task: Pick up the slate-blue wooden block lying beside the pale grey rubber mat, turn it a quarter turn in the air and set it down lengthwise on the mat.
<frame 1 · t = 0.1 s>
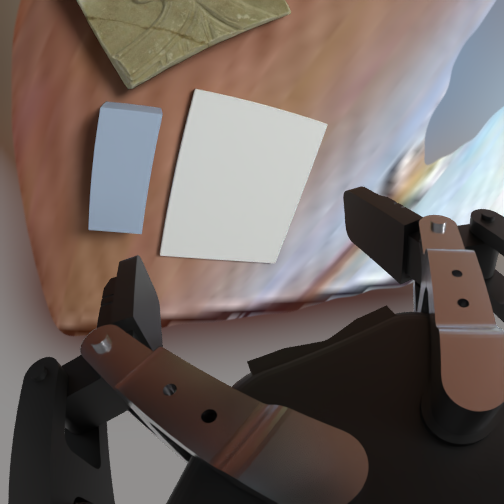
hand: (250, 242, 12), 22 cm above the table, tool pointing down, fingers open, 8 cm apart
mat: (240, 186, 35), on the table
block: (123, 161, 30), on the table
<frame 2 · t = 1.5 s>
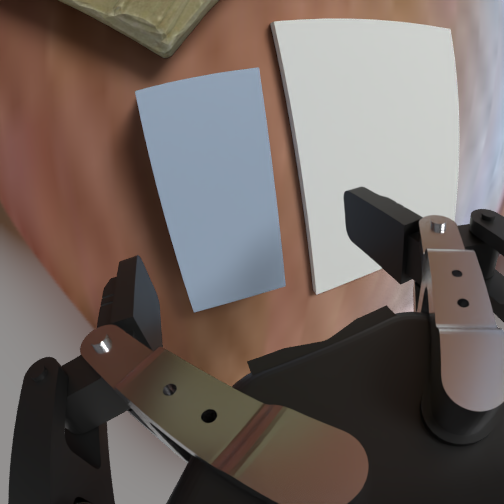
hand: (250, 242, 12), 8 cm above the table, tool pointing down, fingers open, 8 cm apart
mat: (390, 150, 21), on the table
block: (207, 179, 19), on the table
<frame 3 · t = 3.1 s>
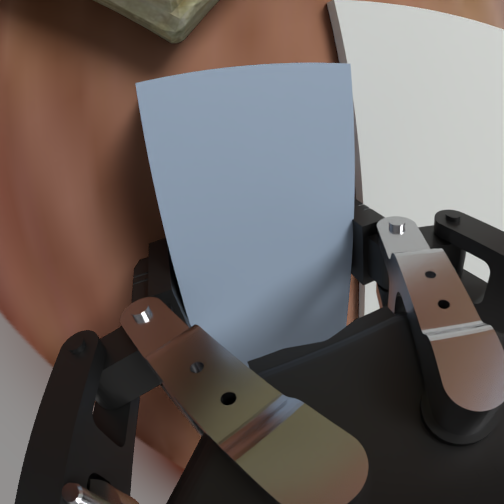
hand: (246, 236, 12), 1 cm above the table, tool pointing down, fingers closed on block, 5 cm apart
mat: (458, 179, 15), on the table
block: (240, 225, 13), on the table, touching gripper
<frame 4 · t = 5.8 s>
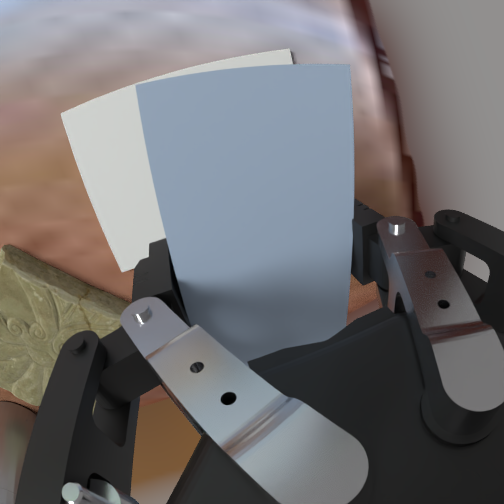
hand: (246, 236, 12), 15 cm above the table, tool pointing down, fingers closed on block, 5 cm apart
mat: (197, 158, 25), on the table
decorative tile: (49, 338, 30), on the table
block: (240, 226, 13), point 14 cm above the table, touching gripper
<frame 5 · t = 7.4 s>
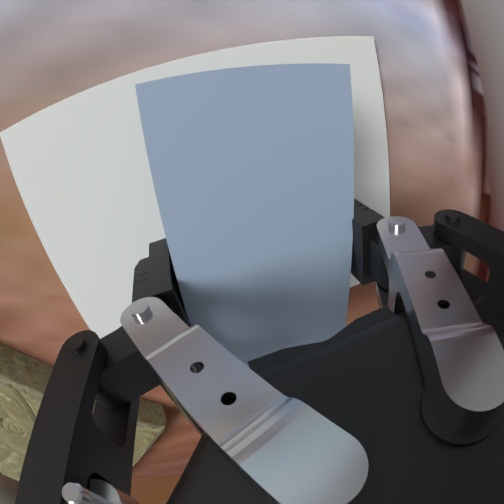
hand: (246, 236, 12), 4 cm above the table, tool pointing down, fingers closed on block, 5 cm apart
mat: (226, 205, 16), on the table
decorative tile: (31, 420, 20), on the table
block: (240, 226, 13), point 3 cm above the table, touching gripper
when the fingers open (3 cm above the table, at t = 8.6 s): block drops 1 cm, resting on mat.
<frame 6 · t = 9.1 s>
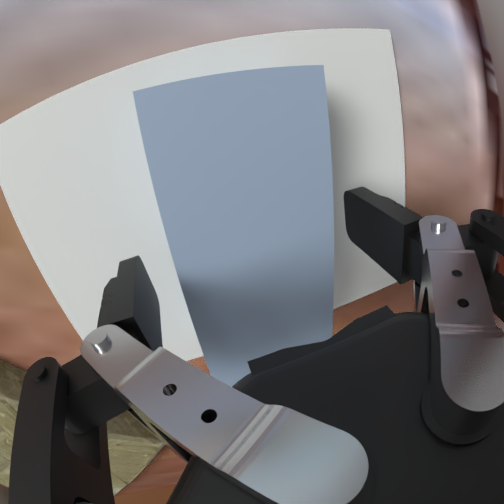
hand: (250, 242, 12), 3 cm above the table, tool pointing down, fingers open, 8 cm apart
mat: (230, 211, 15), on the table
decorative tile: (28, 431, 19), on the table
block: (233, 216, 14), point 1 cm above the table, touching mat
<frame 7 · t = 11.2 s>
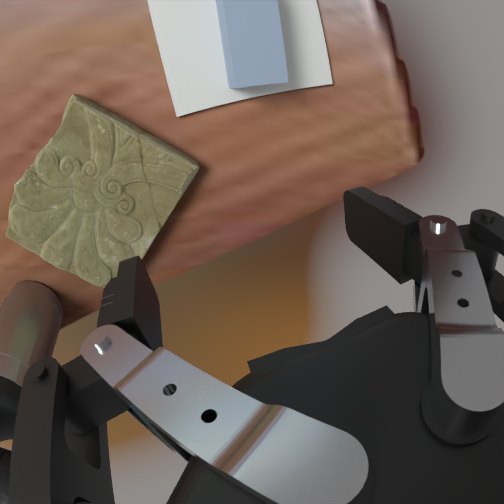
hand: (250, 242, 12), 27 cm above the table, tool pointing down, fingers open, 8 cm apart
mat: (244, 36, 30), on the table
decorative tile: (92, 193, 35), on the table
block: (245, 35, 29), point 1 cm above the table, touching mat
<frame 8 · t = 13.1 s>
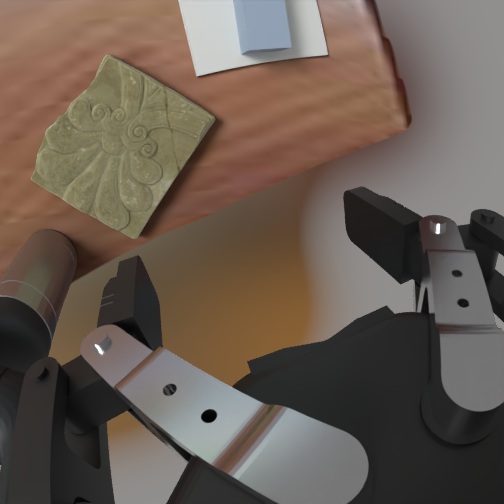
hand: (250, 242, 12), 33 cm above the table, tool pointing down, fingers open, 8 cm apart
mat: (254, 14, 34), on the table
decorative tile: (116, 142, 38), on the table
block: (255, 13, 34), point 1 cm above the table, touching mat
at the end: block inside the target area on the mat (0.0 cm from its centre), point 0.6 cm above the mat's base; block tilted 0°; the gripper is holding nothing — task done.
